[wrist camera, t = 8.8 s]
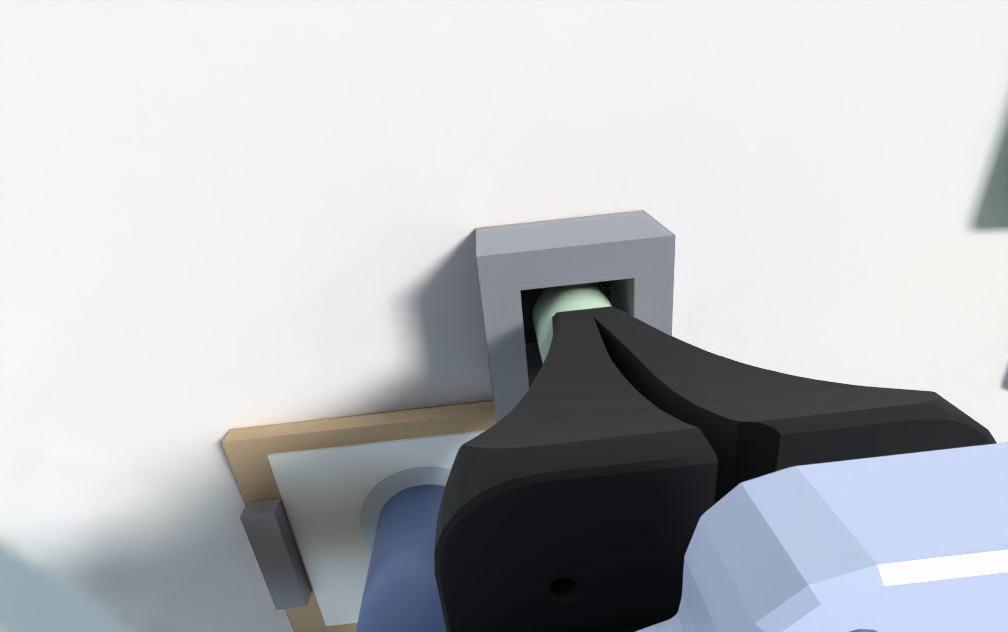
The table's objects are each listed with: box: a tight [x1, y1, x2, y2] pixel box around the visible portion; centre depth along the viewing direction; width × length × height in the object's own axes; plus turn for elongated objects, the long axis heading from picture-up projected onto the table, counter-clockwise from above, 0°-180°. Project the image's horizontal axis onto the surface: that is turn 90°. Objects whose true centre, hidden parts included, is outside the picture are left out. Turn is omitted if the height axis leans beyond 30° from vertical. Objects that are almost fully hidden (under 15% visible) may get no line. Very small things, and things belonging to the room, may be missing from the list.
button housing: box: [476, 210, 675, 423], centre depth 14 cm, size 4×4×2 cm
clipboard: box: [222, 401, 496, 632], centre depth 17 cm, size 9×9×1 cm
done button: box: [532, 283, 612, 363], centre depth 13 cm, size 2×2×2 cm
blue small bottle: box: [356, 485, 447, 632], centre depth 14 cm, size 3×3×6 cm
